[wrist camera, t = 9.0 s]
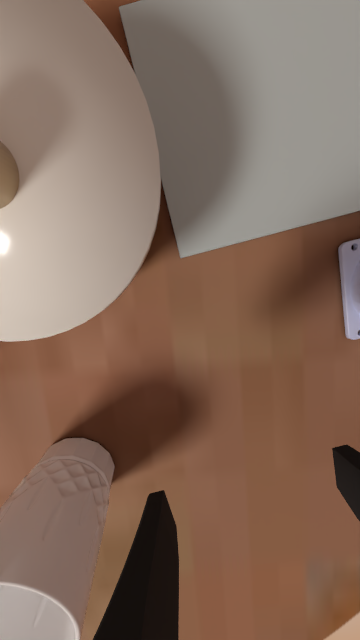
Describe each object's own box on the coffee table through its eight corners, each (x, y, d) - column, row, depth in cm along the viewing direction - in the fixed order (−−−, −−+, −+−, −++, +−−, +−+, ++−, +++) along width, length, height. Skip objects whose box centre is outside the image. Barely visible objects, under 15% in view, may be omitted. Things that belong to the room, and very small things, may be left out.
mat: (357, -53, 14) (363, -63, 13) (371, 207, 17) (376, 206, 16) (120, 14, 14) (118, 6, 13) (180, 258, 17) (180, 258, 17)
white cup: (38, 424, 20) (-89, 575, 10) (127, 437, 20) (88, 589, 11) (32, 495, 21) (-82, 682, 12) (115, 504, 22) (71, 689, 12)
